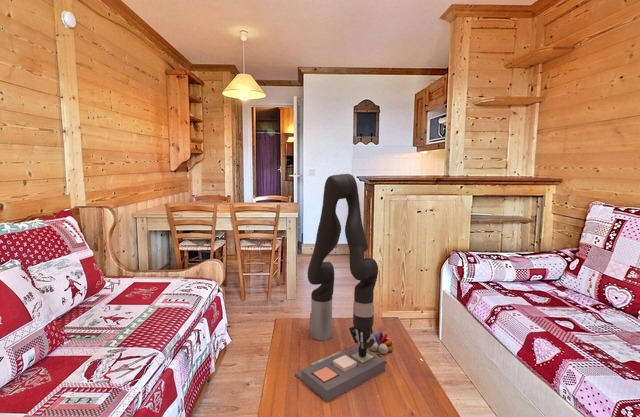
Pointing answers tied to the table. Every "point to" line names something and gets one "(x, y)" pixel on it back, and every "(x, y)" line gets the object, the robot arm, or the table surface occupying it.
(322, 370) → the key terracotta
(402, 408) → the table surface
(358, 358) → the key sage
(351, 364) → the key cream
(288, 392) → the table surface
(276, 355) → the table surface
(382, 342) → the rainbow petal flower toy
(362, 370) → the keypad
